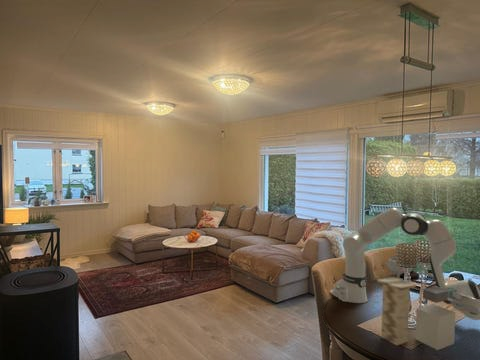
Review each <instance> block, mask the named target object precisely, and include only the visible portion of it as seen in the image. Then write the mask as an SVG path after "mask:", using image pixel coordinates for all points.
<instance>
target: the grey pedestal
mask: <svg viewBox="0 0 480 360" xmlns="http://www.w3.org/2000/svg"><path fill="white" fill-rule="evenodd" d="M415 313H416V316H415V317H416V318H415V340H416V341H418V342H421V344H424V345H426V346H428V347H430V348H432V349H435V350H436V351H440V350H441V349H444V348H447V347H450V346H452V345H455V335H456V334H455V331H456V312H455V311H453V310H450V309H447V308H445V307H443V306H440V305H437V304H436V303H435V304H434V303H432V304H428V305H424V306H421V307H417V308H416V312H415Z"/></svg>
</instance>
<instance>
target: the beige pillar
mask: <svg viewBox="0 0 480 360" xmlns="http://www.w3.org/2000/svg"><path fill="white" fill-rule="evenodd" d="M401 279H402V278H401ZM401 279H398V278H396V277H394V276H388V277H384V278H378V279H377V282H378V283H380V284H382V305H381V306H382V307H381V309H382V311H381V338H382V339H384V340H386V341H388V342H390V343H391V344H393V345H396V346H400V345H402V344H406V343H408V339H409V337H408V336H409V316H410V314H409V312H410V311H409V310H410V289H414V288H417V284H415V283H412V282H409V281H408V280H406V281H404V280H405V279H404V280H401ZM407 281H408V282H407Z"/></svg>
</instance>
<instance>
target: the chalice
mask: <svg viewBox="0 0 480 360" xmlns="http://www.w3.org/2000/svg"><path fill="white" fill-rule="evenodd" d="M396 258H397V257H389V259H388V261H387V267H388V269H389V270H390V271H392V272H393V273H394V274H395V275H396V277H395V278H398V279H401V280H403V279H404V278H401V277H400V275H401V274H402V273H404V272H403V270H402V269H401V268H399V267H398V266H397V264H396Z"/></svg>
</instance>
